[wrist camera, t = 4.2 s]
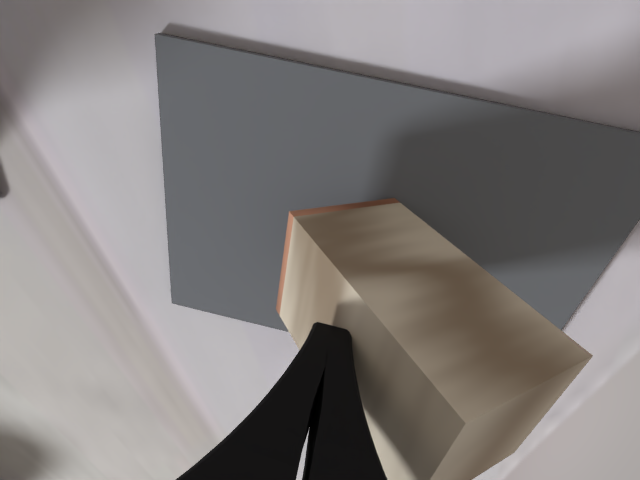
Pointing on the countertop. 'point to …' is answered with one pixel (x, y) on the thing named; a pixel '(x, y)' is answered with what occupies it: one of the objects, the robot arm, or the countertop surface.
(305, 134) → the mat
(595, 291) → the countertop surface
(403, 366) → the block
